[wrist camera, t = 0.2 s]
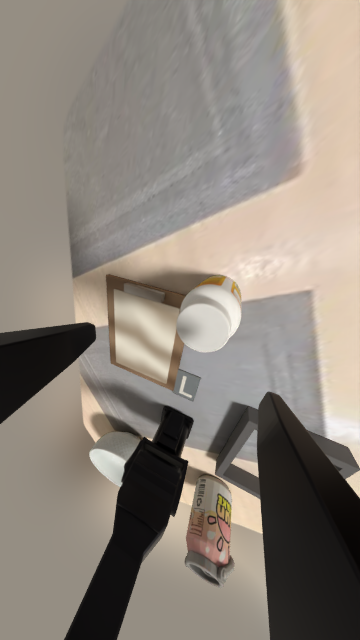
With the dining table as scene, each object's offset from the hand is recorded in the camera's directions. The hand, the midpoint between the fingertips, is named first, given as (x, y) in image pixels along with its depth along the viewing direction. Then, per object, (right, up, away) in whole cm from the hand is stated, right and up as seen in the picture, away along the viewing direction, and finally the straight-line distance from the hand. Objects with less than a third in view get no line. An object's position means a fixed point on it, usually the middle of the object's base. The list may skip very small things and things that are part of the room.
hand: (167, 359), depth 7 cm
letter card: (+2, -10, +20) cm, 22 cm away
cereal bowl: (-12, -32, +36) cm, 49 cm away
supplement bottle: (+6, +5, +12) cm, 14 cm away
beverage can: (+9, -38, +30) cm, 49 cm away
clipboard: (-5, -1, +19) cm, 20 cm away
